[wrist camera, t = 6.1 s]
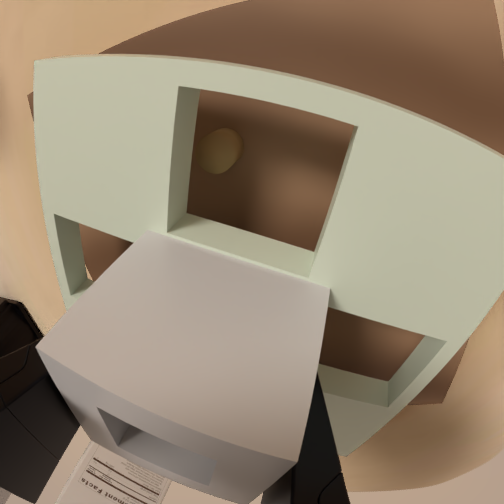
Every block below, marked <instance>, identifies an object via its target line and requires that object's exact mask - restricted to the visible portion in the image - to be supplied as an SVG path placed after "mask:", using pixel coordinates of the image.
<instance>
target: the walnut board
mask: <svg viewBox="0 0 504 504" xmlns="http://www.w3.org/2000/svg"><path fill="white" fill-rule="evenodd" d="M99 54H145V55H164V56H178V57H189V58H199V59H208V60H216V61H223V62H230V63H236V64H243V65H249V66H254V67H260V68H265V69H270V70H275V71H280V72H284V73H289V74H293V75H298V76H302V77H306V78H310V79H314V80H318V81H322V82H325V83H329V84H332V85H336V86H339V87H343V88H346V89H350V90H353V91H356V92H359V93H362V94H365V95H368V96H371V97H374V98H377V99H380V100H383V101H386V102H389V103H391V104H394V105H397V106H399V107H402V108H405V109H407V110H410V111H412V112H415V113H417V114H420V115H422V116H424V117H427V118H429V119H432V120H434V121H436V122H438V123H441V124H443V125H445V126H447V127H449V128H452V129H454V130H456V131H458V132H460V133H462V134H464V135H466V136H468V137H470V138H472V139H474V140H476V141H478V142H480V143H482V144H484V145H486V146H488V147H490V148H491V149H493V150H495V151H497V152H499V153H500V154H502V155H504V59H503V51H502V44H501V37H500V31H499V25H498V19H497V14H496V9H495V5H494V0H248V1H243V2H239V3H235V4H231V5H227V6H223V7H219V8H216V9H212V10H209V11H205V12H202V13H199V14H195V15H192V16H189V17H186V18H183V19H180V20H177V21H174V22H172V23H169V24H166V25H163V26H161V27H158V28H155V29H153V30H150V31H148V32H145V33H143V34H140V35H138V36H136V37H133V38H131V39H129V40H126V41H124V42H122V43H120V44H118V45H115V46H113V47H111V48H109V49H107V50H105V51H103V52H101V53H99ZM27 96H28V101H29V105H30V109H31V113H32V117H33V121H34V106H33V92H32V93H30V94H29V95H27ZM353 129H354V125H352V124H349V123H346V122H342V121H339V120H336V119H333V118H329V117H326V116H322V115H319V114H315V113H311V112H308V111H304V110H300V109H296V108H292V107H288V106H284V105H280V104H276V103H272V102H267V101H263V100H258V99H253V98H248V97H243V96H238V95H233V94H228V93H222V92H216V91H210V90H204V89H200V95H199V102H198V110H197V117H196V125H195V133H194V142H193V151H192V160H191V169H190V179H189V190H188V201H187V212H186V213H188V214H192V215H195V216H198V217H202V218H205V219H208V220H212V221H215V222H218V223H222V224H225V225H228V226H232V227H235V228H238V229H242V230H245V231H248V232H251V233H255V234H258V235H261V236H265V237H268V238H271V239H274V240H277V241H281V242H284V243H287V244H290V245H294V246H297V247H300V248H303V249H306V250H310V251H313V252H314V251H315V248H316V245H317V242H318V240H319V237H320V234H321V231H322V228H323V225H324V222H325V219H326V216H327V213H328V210H329V207H330V204H331V201H332V197H333V194H334V191H335V188H336V185H337V182H338V179H339V175H340V172H341V169H342V166H343V162H344V159H345V156H346V152H347V149H348V146H349V142H350V139H351V135H352V132H353ZM79 229H80V236H81V243H82V249H83V256H84V262H85V265H86V267H87V269H88V271H89V273H90V275H91V277H92V279H93V281H94V282H95V281H96V280H97V279H98V278H99V277H100V276H101V275H102V274H103V273H104V272H105V271H106V270H107V269H108V268H109V267H110V266H111V265H112V264H113V263H114V262H115V261H116V260H117V259H118V258H119V257H120V256H121V255H122V254H123V253H124V252H125V251H126V250H127V249H128V248H129V247H130V246H131V245H132V244H133V242H130V241H127V240H125V239H122V238H119V237H116V236H113V235H111V234H108V233H105V232H102V231H100V230H97V229H94V228H91V227H89V226H86V225H83V224H80V223H79ZM424 336H425V335H422V334H419V333H415V332H412V331H408V330H405V329H401V328H398V327H394V326H391V325H387V324H384V323H380V322H377V321H374V320H370V319H367V318H364V317H360V316H357V315H354V314H350V313H347V312H344V311H340V310H337V309H334V308H330V307H328V308H327V315H326V321H325V328H324V334H323V340H322V346H321V352H320V358H319V364H322V365H326V366H329V367H333V368H337V369H340V370H344V371H348V372H351V373H355V374H359V375H363V376H367V377H371V378H375V379H379V380H383V381H389V380H390V379H391V378H392V377H393V375H394V374H395V373H396V372H397V371H398V369H399V368H400V367H401V366H402V365H403V363H404V362H405V361H406V360H407V358H408V357H409V356H410V355H411V353H412V352H413V351H414V349H415V348H416V347H417V346H418V344H419V343H420V342H421V340H422V339H423V338H424ZM468 340H469V338H468V339H467V340H466V342H465V343H464V344H463V345H462V346H461V348H460V349H459V350H458V351H457V352H456V354H455V355H454V356H453V357H452V358H451V359H450V360H449V362H448V363H447V364H446V365H445V366H444V367H443V368H442V369H441V371H440V372H439V373H438V374H437V375H436V376H435V377H434V378H433V379H432V380H431V381H430V382H429V383H428V384H427V385H426V386H425V387H424V389H423V390H422V391H421V392H420V393H419V394H418V395H417V396H416V397H415V398H414V399H413V400H412V401H410V402H409V403H408V404H407V405H419V404H438V403H442V402H443V400H444V398H445V396H446V394H447V391H448V389H449V387H450V385H451V383H452V380H453V378H454V376H455V373H456V371H457V368H458V366H459V363H460V361H461V358H462V356H463V353H464V351H465V348H466V345H467V342H468Z"/></svg>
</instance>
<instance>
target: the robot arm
mask: <svg viewBox="0 0 504 504" xmlns="http://www.w3.org/2000/svg"><path fill="white" fill-rule="evenodd" d="M42 339H43V338H42V336H41V335H40V333H39V332H38V330H37V329H36V327H35V325H34V324H33V322H32V321H31V319H30V318H29V316H28V314H27V313H26V311H25V309H24V308H23V306H22V305H21V303H19V302H18V301H14V300H10V299H6V298H1V297H0V504H5V503H6V501H7V499H8V498H9V496H10V494H11V493H13V494H14V495H16V496H19V497H21V498H23V499H25V500H27V501H29V502H31V503H34V504H35V503H36V502H37V500H38V498H39V496H40V494H41V493H42V491H43V489H44V487H45V485H46V483H47V482H48V480H49V478H50V476H51V475H52V473H53V471H54V469H55V467H56V466H57V464H58V462H59V460H60V459H61V457H62V455H63V454H64V452H65V450H66V448H67V447H68V445H69V443H70V442H71V440H72V438H73V436H74V434H75V433H76V432H77V430H78V428H79V426H80V423H79V422H78V420H77V419H76V417H75V416H74V414H73V413H72V411H71V409H70V408H69V406H68V405H67V403H66V401H65V400H64V398H63V396H62V395H61V393H60V391H59V390H58V388H57V386H56V385H55V383H54V381H53V379H52V378H51V376H50V374H49V372H48V370H47V368H46V367H45V365H44V363H43V361H42V359H41V357H40V355H39V353H38V351H37V349H36V346H37V344H38V343H39V342H40V341H41V340H42ZM341 471H342V469H341V465H340V460H339V456H338V452H337V448H336V444H335V439H334V435H333V431H332V427H331V423H330V419H329V415H328V411H327V407H326V403H325V399H324V395H323V391H322V387H321V383H320V379H319V376H318V372H317V374H316V379H315V385H314V390H313V395H312V400H311V405H310V409H309V414H308V419H307V423H306V428H305V432H304V437H303V441H302V445H301V449H300V454H299V458H298V462H297V463H296V464H295V465H294V466H293V467H292V468H290V469H289V470H288V471H287V472H286V473H285V474H284V475H283V476H281V477H280V478H279V479H278V480H277V481H276V482H275V483H273V484H272V485H271V486H270V487H269V488H267V489H266V490H265V491H264V492H263V496H262V501H261V504H350V501H349V497H348V494H347V490H346V486H345V482H344V477H343V473H342V472H341Z"/></svg>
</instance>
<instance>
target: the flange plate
mask: <svg viewBox="0 0 504 504" xmlns="http://www.w3.org/2000/svg"><path fill="white" fill-rule="evenodd" d="M200 89H204V90H210V91H216V92H222V93H228V94H233V95H238V96H243V97H248V98H253V99H258V100H263V101H267V102H272V103H276V104H280V105H284V106H288V107H292V108H296V109H300V110H304V111H308V112H311V113H315V114H319V115H322V116H326V117H329V118H333V119H336V120H339V121H342V122H346V123H349V124H352V125H354V129H353V132H352V135H351V139H350V142H349V146H348V149H347V152H346V156H345V159H344V162H343V166H342V169H341V172H340V175H339V179H338V182H337V185H336V188H335V191H334V194H333V197H332V201H331V204H330V207H329V210H328V213H327V216H326V219H325V222H324V225H323V228H322V231H321V234H320V237H319V240H318V242H317V245H316V248H315V251H314V252H313V251H310V250H306V249H303V248H300V247H297V246H294V245H290V244H287V243H284V242H281V241H277V240H274V239H271V238H268V237H265V236H261V235H258V234H255V233H251V232H248V231H245V230H242V229H238V228H235V227H232V226H228V225H225V224H222V223H218V222H215V221H212V220H208V219H205V218H202V217H198V216H195V215H192V214H188V213H186V212H187V201H188V190H189V179H190V169H191V160H192V151H193V142H194V133H195V125H196V117H197V110H198V102H199V95H200ZM33 106H34V133H35V148H36V160H37V170H38V178H39V186H40V194H41V201H42V207H43V213H44V219H45V224H46V230H47V235H48V240H49V245H50V249H51V254H52V258H53V262H54V267H55V271H56V275H57V279H58V282H59V286H60V290H61V293H62V297H63V300H64V304H65V307H66V311H67V312H66V313H65V314H64V315H63V316H62V317H61V318H60V319H59V320H58V322H57V323H56V324H55V325H54V326H53V327H52V328H51V329H50V331H49V332H48V333H47V334H46V335H45V336H44V337H43V339H42V340H41V341H40V342H39V343H38V344H37V346H36V349H37V351H38V353H39V355H40V357H41V359H42V361H43V363H44V365H45V367H46V368H47V370H48V372H49V374H50V376H51V378H52V379H53V381H54V383H55V385H56V386H57V388H58V390H59V391H60V393H61V395H62V396H63V398H64V400H65V401H66V403H67V405H68V406H69V408H70V409H71V411H72V413H73V414H74V416H75V417H76V419H77V420H78V422H79V423H80V425H81V426H82V428H83V429H84V431H85V432H86V433H87V435H88V436H89V438H90V439H91V440H92V441H93V442H95V443H97V444H99V445H100V446H102V447H104V448H106V449H108V450H109V451H111V452H113V453H115V454H117V455H119V456H121V457H123V458H125V459H127V460H129V461H131V462H133V463H135V464H137V465H139V466H141V467H143V468H145V469H147V470H149V471H152V472H154V473H156V474H158V475H161V476H163V477H165V478H168V479H170V480H172V481H175V482H177V483H180V484H182V485H185V486H188V487H190V488H193V489H196V490H199V491H201V492H204V493H207V494H210V495H213V496H216V497H219V498H222V499H225V500H228V501H231V502H235V503H238V504H249V503H250V502H251V501H253V500H254V499H255V498H256V497H258V496H259V495H260V494H261V493H262V492H264V491H265V490H266V489H267V488H269V487H270V486H271V485H272V484H273V483H275V482H276V481H277V480H278V479H279V478H280V477H281V476H283V475H284V474H285V473H286V472H287V471H288V470H289V469H290V468H292V467H293V466H294V465H295V464H296V463H297V462H298V458H299V454H300V449H301V445H302V441H303V437H304V432H305V428H306V423H307V419H308V414H309V409H310V405H311V400H312V395H313V390H314V385H315V379H316V374H317V372H318V376H319V379H320V383H321V387H322V391H323V395H324V399H325V403H326V407H327V411H328V415H329V419H330V423H331V427H332V431H333V435H334V439H335V444H336V448H337V452H338V455H341V456H346V457H347V456H348V455H349V454H351V453H352V452H353V451H354V450H356V449H357V448H358V447H359V446H361V445H362V444H363V443H364V442H366V441H367V440H368V439H369V438H370V437H372V436H373V435H374V434H375V433H376V432H378V431H379V430H380V429H381V428H382V427H383V426H384V425H386V424H387V423H388V422H389V421H390V420H391V419H392V418H393V417H395V416H396V415H397V414H398V413H399V412H400V411H401V410H402V409H403V408H404V407H405V406H406V405H407V404H408V403H409V402H410V401H412V400H413V399H414V398H415V397H416V396H417V395H418V394H419V393H420V392H421V391H422V390H423V389H424V387H425V386H426V385H427V384H428V383H429V382H430V381H431V380H432V379H433V378H434V377H435V376H436V375H437V374H438V373H439V372H440V371H441V369H442V368H443V367H444V366H445V365H446V364H447V363H448V362H449V360H450V359H451V358H452V357H453V356H454V355H455V354H456V352H457V351H458V350H459V349H460V348H461V346H462V345H463V344H464V343H465V342H466V340H467V339H468V338H469V337H470V335H471V334H472V333H473V332H474V330H475V329H476V328H477V326H478V325H479V324H480V323H481V321H482V320H483V319H484V317H485V316H486V314H487V313H488V312H489V310H490V309H491V308H492V306H493V305H494V303H495V302H496V301H497V299H498V298H499V296H500V295H501V293H502V292H503V290H504V155H502V154H500V153H499V152H497V151H495V150H493V149H491V148H490V147H488V146H486V145H484V144H482V143H480V142H478V141H476V140H474V139H472V138H470V137H468V136H466V135H464V134H462V133H460V132H458V131H456V130H454V129H452V128H449V127H447V126H445V125H443V124H441V123H438V122H436V121H434V120H432V119H429V118H427V117H424V116H422V115H420V114H417V113H415V112H412V111H410V110H407V109H405V108H402V107H399V106H397V105H394V104H391V103H389V102H386V101H383V100H380V99H377V98H374V97H371V96H368V95H365V94H362V93H359V92H356V91H353V90H350V89H346V88H343V87H339V86H336V85H332V84H329V83H325V82H322V81H318V80H314V79H310V78H306V77H302V76H298V75H293V74H289V73H284V72H280V71H275V70H270V69H265V68H260V67H254V66H249V65H243V64H236V63H230V62H223V61H216V60H208V59H199V58H189V57H178V56H164V55H145V54H86V55H68V56H58V57H52V58H46V59H40V60H35V61H34V84H33ZM79 223H80V224H83V225H86V226H89V227H91V228H94V229H97V230H100V231H102V232H105V233H108V234H111V235H113V236H116V237H119V238H122V239H125V240H127V241H130V242H133V244H132V245H131V246H130V247H129V248H128V249H127V250H126V251H125V252H124V253H123V254H122V255H121V256H120V257H119V258H118V259H117V260H116V261H115V262H114V263H113V264H112V265H111V266H110V267H109V268H108V269H107V270H106V271H105V272H104V273H103V274H102V275H101V276H100V277H99V278H98V279H97V280H96V281H95V282H94V281H92V280H90V279H88V278H87V273H86V267H85V262H84V256H83V249H82V243H81V236H80V229H79ZM328 307H330V308H334V309H337V310H340V311H344V312H347V313H350V314H354V315H357V316H360V317H364V318H367V319H370V320H374V321H377V322H380V323H384V324H387V325H391V326H394V327H398V328H401V329H405V330H408V331H412V332H415V333H419V334H422V335H425V336H424V338H423V339H422V340H421V342H420V343H419V344H418V346H417V347H416V348H415V349H414V351H413V352H412V353H411V355H410V356H409V357H408V358H407V360H406V361H405V362H404V363H403V365H402V366H401V367H400V368H399V369H398V371H397V372H396V373H395V374H394V375H393V377H392V378H391V379H390V380H389V381H383V380H379V379H375V378H371V377H367V376H363V375H359V374H355V373H351V372H348V371H344V370H340V369H337V368H333V367H329V366H326V365H322V364H319V358H320V352H321V346H322V340H323V334H324V328H325V321H326V315H327V308H328Z"/></svg>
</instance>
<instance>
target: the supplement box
mask: <svg viewBox="0 0 504 504" xmlns="http://www.w3.org/2000/svg"><path fill="white" fill-rule="evenodd" d="M171 482H172V480H170V479H168V478H165V477H163V476H161V475H158V474H156V473H154V472H152V471H149V470H147V469H145V468H143V467H141V466H139V465H137V464H135V463H133V462H131V461H129V460H127V459H125V458H123V457H121V456H119V455H117V454H115V453H113V452H111V451H109V450H108V449H106V448H104V447H102V446H100V445H99V444H97V443H95V442H93V441H92V440H91V441H90V443H89V445H88V447H87V448H86V450H85V451H84V453H83V455H82V456H81V458H80V460H79V462H78V463H77V465H76V467H75V469H74V470H73V472H72V474H71V475H70V477H69V479H68V480H67V483H66V484H65V486H64V488H63V489H62V491H61V493H60V495H59V497H58V499H57V501H56V502H55V504H161V503H162V501H163V499H164V497H165V495H166V492H167V490H168V488H169V486H170V484H171Z"/></svg>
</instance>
